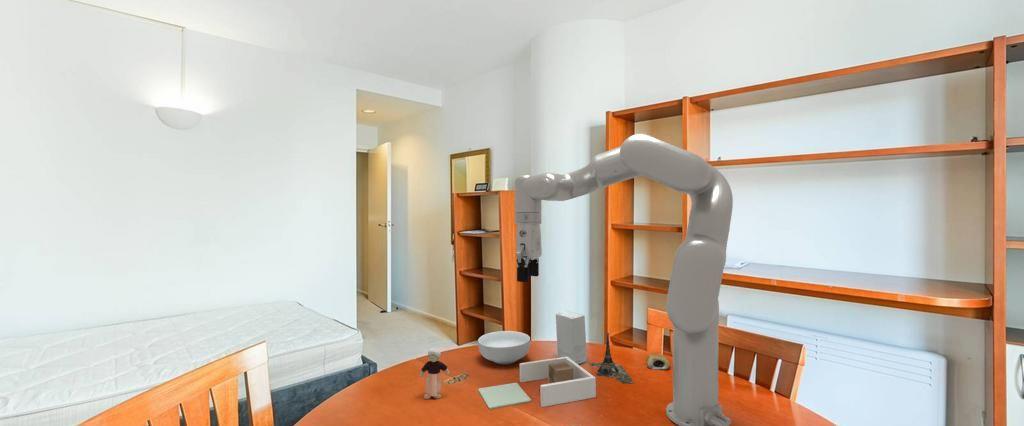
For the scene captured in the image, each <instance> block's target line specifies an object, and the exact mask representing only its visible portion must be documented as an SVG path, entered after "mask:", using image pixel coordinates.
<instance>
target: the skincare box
mask: <svg viewBox="0 0 1024 426" xmlns="http://www.w3.org/2000/svg"><path fill="white" fill-rule="evenodd" d="M585 317H586V316H585V314H579V313H576V312H572V311H569V310H567V311H563V312H559V313H555V325H556V327H555V329H556V331H555V332H556V348H557V358H560V357H568V358H570V359H571V360H573V361H574V362H575V363H577V364H578V365H579V364H584V363H587V362H588V356H587V337H586V336H587V334H586V320H585V319H586V318H585Z"/></svg>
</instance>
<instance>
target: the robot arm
mask: <svg viewBox="0 0 1024 426" xmlns="http://www.w3.org/2000/svg"><path fill="white" fill-rule="evenodd" d="M641 176H644V177H645V178H647V179H651V180H652V181H654V182H657V183H659V184H661V185H664V186H666V187H667V188H670V189H672V190H674V191H677V192H679V193H682V194H687V195H688V196H689V197H690V201H691V203H690V204H691V206H690V210H689V215H688V221H687V222H688V223H687V229H686V234H685V239H684V240H683V242H682V243H681V244H680V245H679V246H678V248H677V249H676V251H675V254H674V258H673V263H672V267H671V274H670V278H669V285H668V291H667V297H666V303H665V310H666V311H665V312H666V314H667V317H668V319H669V321H670V323H671V324H672V325H673V327H672V396H673V397H672V402H669V403H668V404H667V405H666V408H665V411H666V416H667V417H668V419H669V420H670V421H672V423H675V424H676V425H678V426H730V425H731V423H732V419H731V418H729V417H728V416H726V415H725V413H723V405H721V404H719V324H720V323H719V321H720V320H719V319H720V318H719V317H720V314H719V313H720V302H719V296H720V295H719V294H720V292H721V285H722V280H723V276H724V275H723V274H724V269H725V266H726V262H727V247H728V241H729V236H730V235H729V233H730V229H731V221H732V215H733V214H732V213H733V209H734V208H733V207H734V197H733V193H732V192H733V191H732V189H731V188H732V187H731V186H730V183H729V182H728V180H727V179H726V177H725V176H724V175H723V174H722V172H721V171H719V170H718V169H717V168H716V167H714V166H713V165H712V164H710V163H708V162H707V161H706V160H705V159H704V158H702V157H701V156H700V155H698V154H696V153H694V152H691V151H689V150H686V149H684V148H681V147H679V146H676V145H673V144H671V143H668V142H666V141H663V140H662V139H661V140H660V139H658V138H657V137H654V136H652V135H650V134H648V133H635V134H633V135H631V136H629V137H627V138H626V139H625V140H624V141H623V142H622V144H621V146H618V147H616V148H612V149H610V150H609V149H608V150H606V151H604V152H600V153H598V154H596V155H594V156H593V157H592V158H591V160H590V162H589V163H588V164H587V165H585V166H583V167H582V168H579V169H577V170H574V171H570V172H568V173H564V174H559V173H554V172H545V173H539V174H522V175H518V176H516V177H515V181H514V223H515V225H516V226H517V227H516V235H515V237H516V238H515V241H516V242H515V254H516V281H517V282H519V283H520V282H521V283H528V282H529V281H530V280H529V279H530V278H529V277H539V274H540V273H539V272H540V271H539V270H540V269H539V267H540V266H539V265H540V264H539V262H540V261H539V260H540V259H539V258H540V257H541V256H542V253H543V252H542V234H541V233H542V232H541V231H542V230H541V224H542V201H546V202H547V201H549V202H564V201H569V200H573V199H575V198H579V197H582V196H585V195H588V194H591V193H594V192H596V191H598V190H602V189H604V188H606V187H609V186H612V185H617V184H619V183H621V182H625V181H628V180H630V179H634V178H637V177H641Z"/></svg>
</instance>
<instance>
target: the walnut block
mask: <svg viewBox="0 0 1024 426" xmlns="http://www.w3.org/2000/svg"><path fill="white" fill-rule="evenodd" d="M568 380H573V368H572V367H571V366H570V365H569V364H567V363H566V362H559V363H552V364H549V378H548V384H550V383H556V382H562V381H568Z"/></svg>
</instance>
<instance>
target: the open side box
mask: <svg viewBox="0 0 1024 426" xmlns="http://www.w3.org/2000/svg"><path fill="white" fill-rule="evenodd" d="M559 362H566V363H567V364H569V365H570V366H571V367H572V368H573V380H568V381H562V382H556V383H550V384H549V383H545V384H540V406H541V407H542V408H545V407H550V406H557V405H561V404H566V403H572V402H576V401H582V400H588V399H594V398H596V397H597V389H596V387H597V383H596V382H597V379H596V376H594V375H592V374H591V373H590V372H589V371H587V370H586V369H585V368H583V367H582V366H581V365H579V364H577V363H575V362H574V361H573V360H571V359H570V358H568V357H560V358H558V357H556V358H554V357H553V358H547V359H540V360H533V361H526V362H520V363H519V382H520V383H526V382H531V381H538V380H543V379H544V380H545V379H549V364H552V363H559Z"/></svg>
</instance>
